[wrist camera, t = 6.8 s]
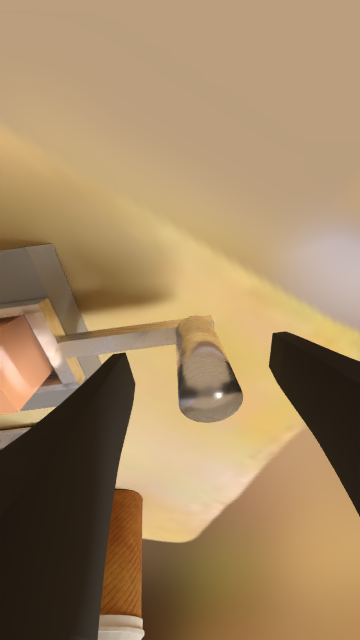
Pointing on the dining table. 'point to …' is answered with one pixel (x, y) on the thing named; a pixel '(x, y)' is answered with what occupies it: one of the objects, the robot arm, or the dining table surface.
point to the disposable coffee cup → (123, 571)
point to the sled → (188, 334)
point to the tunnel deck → (39, 283)
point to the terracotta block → (19, 364)
